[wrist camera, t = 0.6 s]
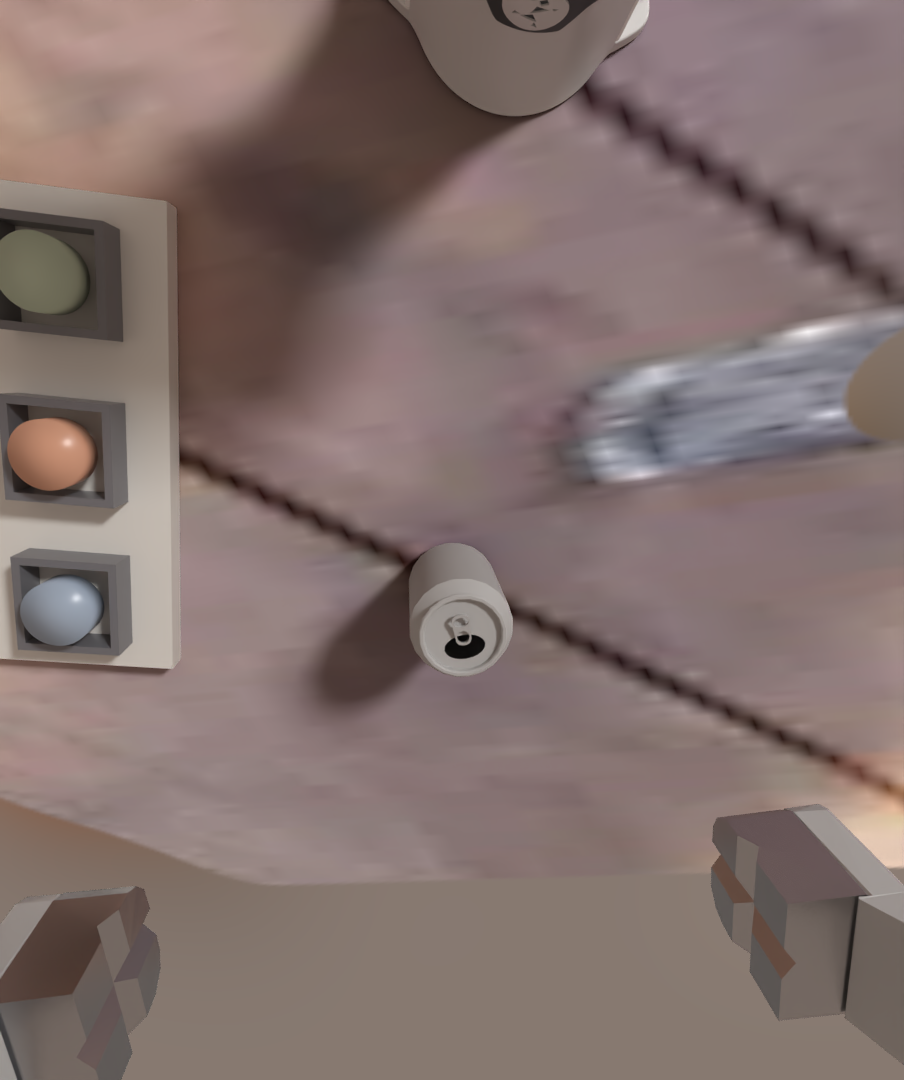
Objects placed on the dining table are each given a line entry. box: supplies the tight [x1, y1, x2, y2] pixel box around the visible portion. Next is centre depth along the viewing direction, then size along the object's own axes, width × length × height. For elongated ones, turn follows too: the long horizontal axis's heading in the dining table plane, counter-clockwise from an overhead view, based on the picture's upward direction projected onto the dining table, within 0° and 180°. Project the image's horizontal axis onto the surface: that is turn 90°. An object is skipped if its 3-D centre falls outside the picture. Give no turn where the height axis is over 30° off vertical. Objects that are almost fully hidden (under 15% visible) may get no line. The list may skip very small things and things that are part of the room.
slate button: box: [20, 574, 104, 646], centre depth 47 cm, size 5×5×2 cm
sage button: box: [0, 229, 90, 315], centre depth 41 cm, size 5×5×2 cm
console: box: [0, 180, 181, 669], centre depth 47 cm, size 36×14×4 cm, turn 174°
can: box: [409, 543, 513, 677], centre depth 48 cm, size 8×8×12 cm
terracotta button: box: [7, 417, 98, 491], centre depth 44 cm, size 5×5×2 cm
